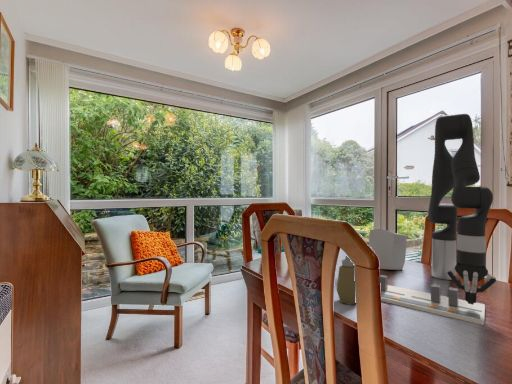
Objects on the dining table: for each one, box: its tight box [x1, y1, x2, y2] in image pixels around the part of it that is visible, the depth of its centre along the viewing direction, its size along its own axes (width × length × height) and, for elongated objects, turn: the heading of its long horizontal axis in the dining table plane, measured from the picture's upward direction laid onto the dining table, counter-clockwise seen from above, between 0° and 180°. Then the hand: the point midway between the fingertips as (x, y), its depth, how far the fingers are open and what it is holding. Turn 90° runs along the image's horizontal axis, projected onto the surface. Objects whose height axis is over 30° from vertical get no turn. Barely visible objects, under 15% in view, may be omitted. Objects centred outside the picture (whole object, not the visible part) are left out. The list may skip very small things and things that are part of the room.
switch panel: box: [381, 284, 486, 326], centre depth 99 cm, size 16×32×2 cm, turn 51°
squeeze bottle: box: [336, 255, 355, 305], centre depth 100 cm, size 8×8×18 cm
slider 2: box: [448, 286, 459, 306], centre depth 94 cm, size 3×2×5 cm
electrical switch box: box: [368, 228, 408, 271], centre depth 147 cm, size 15×15×20 cm
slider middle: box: [430, 283, 442, 303], centre depth 97 cm, size 3×2×5 cm
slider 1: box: [379, 274, 389, 291], centre depth 108 cm, size 3×2×5 cm
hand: (470, 303), depth 91 cm, fingers closed
